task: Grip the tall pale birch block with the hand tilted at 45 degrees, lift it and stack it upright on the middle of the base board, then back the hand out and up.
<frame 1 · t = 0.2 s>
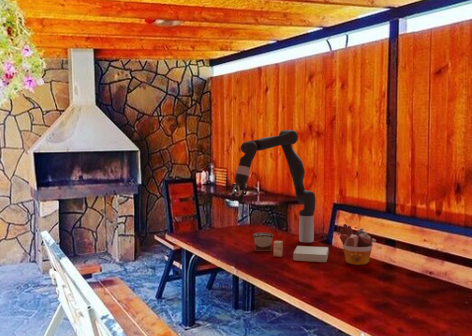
hand: (236, 201, 277), 31 cm above the table, tool tilted 20°, fingers open, 8 cm apart
base board: (311, 257, 272), on the table
food container: (263, 249, 291), on the table
birch block: (278, 255, 277), on the table
bucket of meat: (356, 262, 260), on the table
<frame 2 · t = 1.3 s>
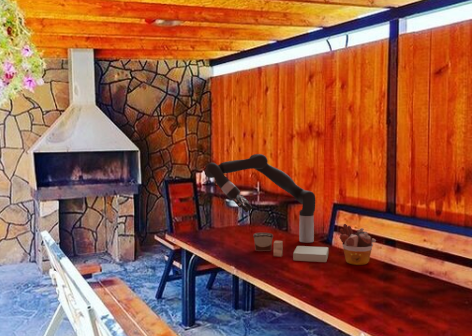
hand: (249, 210, 279), 26 cm above the table, tool tilted 45°, fingers open, 8 cm apart
nothing on the table moved.
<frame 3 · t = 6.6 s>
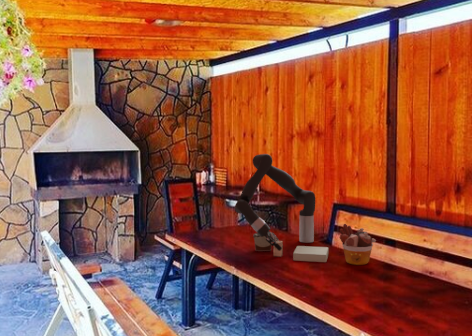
hand: (281, 248, 276), 4 cm above the table, tool tilted 45°, fingers closed on birch block, 4 cm apart
birch block: (278, 255, 277), on the table, touching gripper
everything else where it was.
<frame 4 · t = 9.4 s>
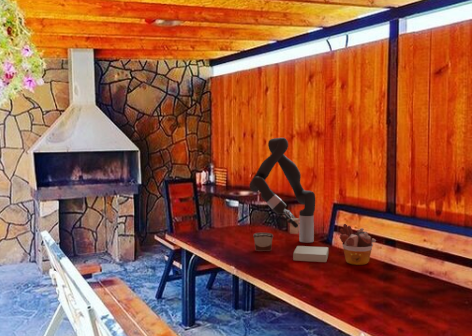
hand: (297, 225, 273), 18 cm above the table, tool tilted 45°, fingers closed on birch block, 4 cm apart
birch block: (294, 232, 274), point 14 cm above the table, touching gripper
everything else where it was.
when the fingers open (10 cm above the table, at t = 12.6 s): birch block drops 1 cm, resting on base board.
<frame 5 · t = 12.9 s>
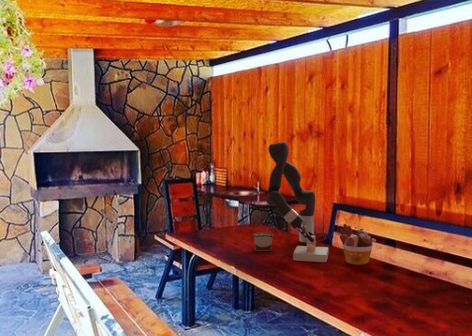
hand: (313, 239, 271), 10 cm above the table, tool tilted 45°, fingers open, 7 cm apart
birch block: (311, 250, 272), point 4 cm above the table, touching base board
everything else where it was.
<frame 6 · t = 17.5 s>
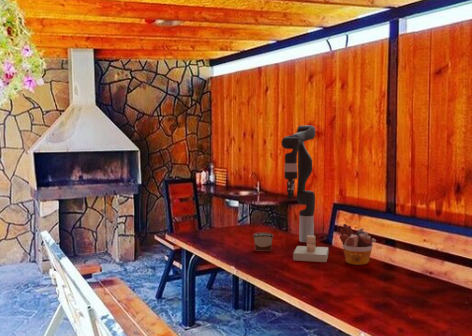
hand: (290, 198, 283), 32 cm above the table, tool pointing down, fingers open, 8 cm apart
nothing on the table moved.
at the end: birch block inside the target area on the base board (0.1 cm from its centre), point 4.0 cm above the base board's base; birch block tilted 0°; the gripper is holding nothing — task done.
